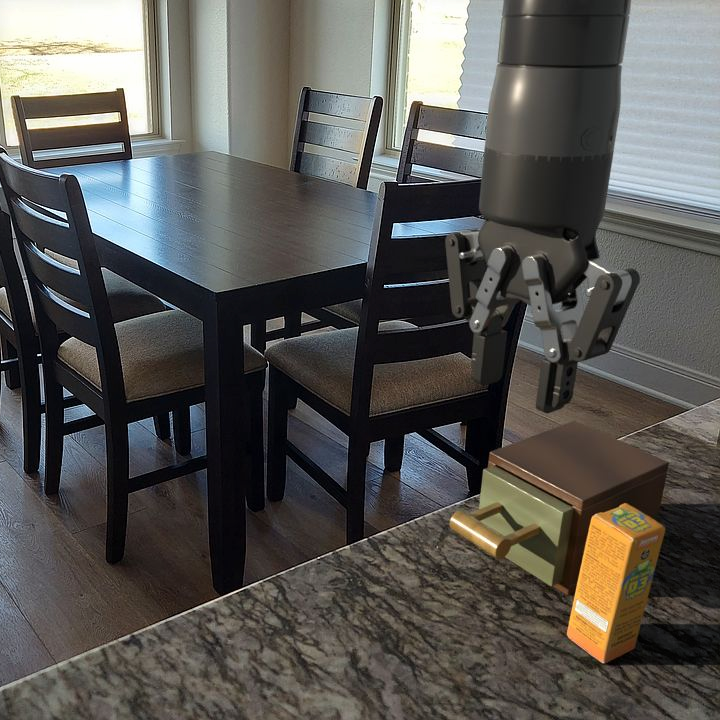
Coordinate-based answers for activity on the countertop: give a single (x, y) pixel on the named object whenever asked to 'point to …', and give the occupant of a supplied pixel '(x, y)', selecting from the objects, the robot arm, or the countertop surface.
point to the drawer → (519, 524)
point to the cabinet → (585, 479)
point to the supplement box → (614, 581)
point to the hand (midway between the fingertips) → (517, 393)
